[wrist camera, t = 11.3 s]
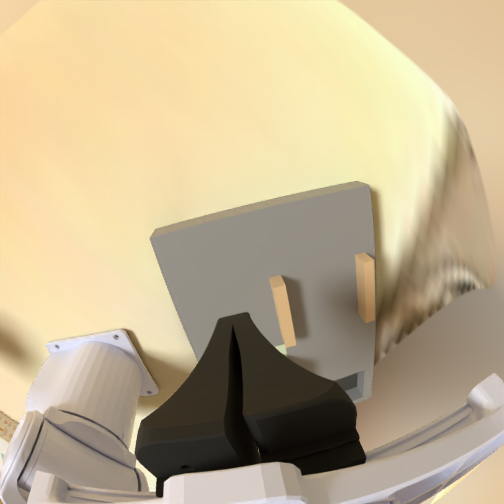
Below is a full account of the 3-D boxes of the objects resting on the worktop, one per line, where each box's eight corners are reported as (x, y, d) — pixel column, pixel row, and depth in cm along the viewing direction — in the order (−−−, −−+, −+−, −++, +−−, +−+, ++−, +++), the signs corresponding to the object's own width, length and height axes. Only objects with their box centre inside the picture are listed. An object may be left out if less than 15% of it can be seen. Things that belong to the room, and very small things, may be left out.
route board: (233, 422, 28) (236, 447, 25) (155, 229, 20) (144, 245, 17) (364, 385, 29) (376, 407, 26) (356, 180, 20) (380, 188, 17)
